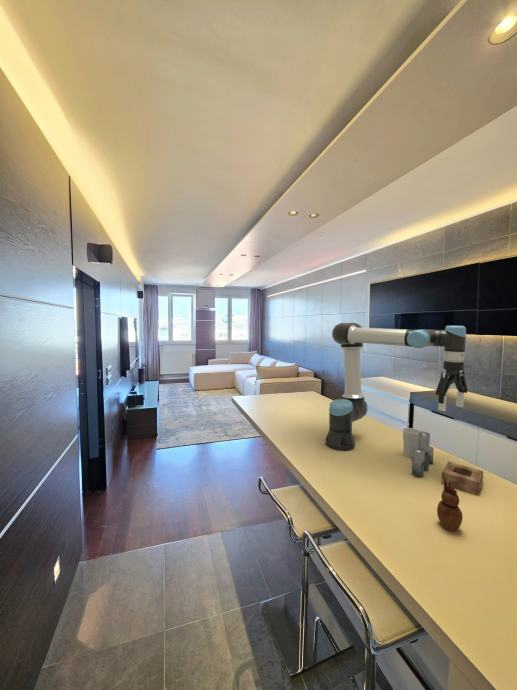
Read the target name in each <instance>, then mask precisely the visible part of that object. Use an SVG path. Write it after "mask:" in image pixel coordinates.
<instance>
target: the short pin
mask: <svg viewBox="0 0 517 690" xmlns="http://www.w3.org/2000/svg"><path fill="white" fill-rule="evenodd" d="M434 451H435V450H434V447H432V446H430V445H429V465H433V464H434Z"/></svg>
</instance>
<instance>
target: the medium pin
mask: <svg viewBox="0 0 517 690" xmlns="http://www.w3.org/2000/svg"><path fill="white" fill-rule="evenodd" d="M424 452H425V451H424V450H423V449H421V448H413V454H412V457H411V460H412V461H411V475H412V476H413V477H415V478H418V479H419V478H420V479H421V478H423V477H424V474H425V471H424Z"/></svg>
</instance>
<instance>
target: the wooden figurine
mask: <svg viewBox="0 0 517 690" xmlns="http://www.w3.org/2000/svg"><path fill="white" fill-rule="evenodd" d="M440 495H441V499H440V501H439V502H438V504H437V508H436V512H437V518H438V520H439V522H440V524H441V525H442V527H444V528H445V529H447V530H449V531H456V530H459V529H460V527H461V525H462V522H463V513H462V510H461V508H460V507H459V504H460V497H459V495H458V492H457V489H455V488H454V486H452V487H451V482H449V485H447V481H446V478H444V484H443V491H442V492H441V494H440Z"/></svg>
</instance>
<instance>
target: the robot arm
mask: <svg viewBox="0 0 517 690" xmlns="http://www.w3.org/2000/svg"><path fill="white" fill-rule="evenodd" d="M331 337H332V339H333V340H334V342H335V343H337V344H339V345H340V349H342V350H343V366H344V367H343V368H344V393H343V394H342V396H341V399H340V398H339V399H334V400H332V401H331V402H330V403H329V407H328V411H329V414H328V415H329V416H328V418H329V423H328V425H329V426H328V432H327V434H326V438H325V446H326V447H328V448H329V449H332V450H336V451H340V452H341V451H343V452H347V451H351V450H354V449H355V448H356V440H355V438H354V435H353V423H354V422H356V421H358V420H360V419H363V418H364V417H365V416H366V415H367V413H368V410H369V406H368V403H367V401H366V400H365V395H364V394H363V393H362V381H361V380H362V379H361V378H362V375H361V373H362V372H361V349H362V348H363V347H364V344H370V345H371V344H372V345H381V346H382V345H384V346H397V347H398V346H399V347H407V348H408V347H411V348H413V349H424V348H427V347H440V348H441V347H442V348H444V351H443V360H444V361H443V365H442V368H443V369H444V370H445V371H446V372H441V373H440V379H439V381H438V384H437V388H436V390H435V395H436V396H438V406H437V410H438V411H442V412H444V413H445V412H447V411H446V410H447V409H446V408H447V393H448V391H449V389H450V387H451V385H453V384H454V385H455V387H456V389H457V392H456V398H455V399H456V400H455V401H456V403H455V406H456V407H458V408H464V404H465V403H464V401H465V394H468V386H467V385H468V384H467V379H466V373H465V371H464V370H465V362H464V361H465V357H466V343H467V341H466V339H467V328H466V327H465V326H464V325H446V326H445V329H425V328H424V329H404V328H401V329H400V328H383V327H382V328H380V327H364V326H363V325H362V324H360V323H357V322H341V323H337V324H336V325H335V326H334V327H333V329H332V332H331Z"/></svg>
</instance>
